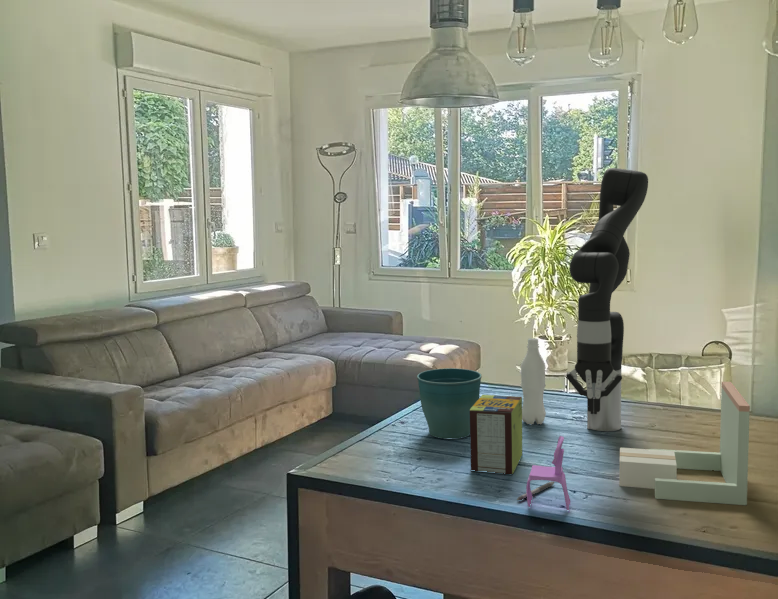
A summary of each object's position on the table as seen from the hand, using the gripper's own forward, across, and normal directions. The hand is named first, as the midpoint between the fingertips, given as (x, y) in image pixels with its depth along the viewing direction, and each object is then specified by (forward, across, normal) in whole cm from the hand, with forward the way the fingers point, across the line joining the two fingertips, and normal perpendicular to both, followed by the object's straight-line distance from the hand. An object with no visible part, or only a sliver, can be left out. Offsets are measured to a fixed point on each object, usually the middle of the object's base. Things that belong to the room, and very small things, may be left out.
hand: (593, 413), depth 170 cm
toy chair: (+16, -9, -19) cm, 26 cm away
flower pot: (+15, -39, +27) cm, 50 cm away
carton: (+16, +12, 0) cm, 19 cm away
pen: (+16, -12, -13) cm, 24 cm away
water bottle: (+15, -17, +42) cm, 48 cm away
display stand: (+15, +22, 0) cm, 27 cm away
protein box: (+15, -23, +5) cm, 28 cm away
